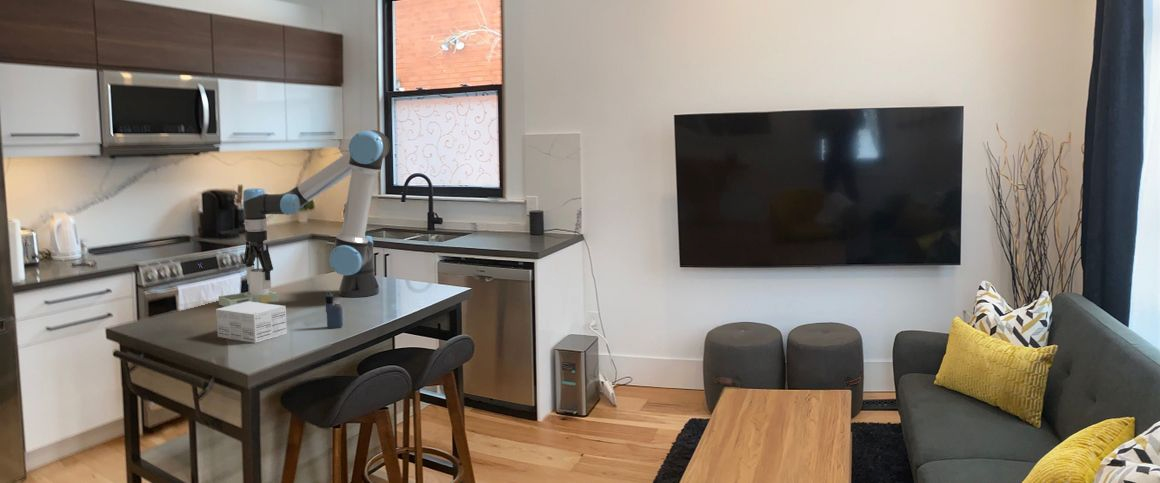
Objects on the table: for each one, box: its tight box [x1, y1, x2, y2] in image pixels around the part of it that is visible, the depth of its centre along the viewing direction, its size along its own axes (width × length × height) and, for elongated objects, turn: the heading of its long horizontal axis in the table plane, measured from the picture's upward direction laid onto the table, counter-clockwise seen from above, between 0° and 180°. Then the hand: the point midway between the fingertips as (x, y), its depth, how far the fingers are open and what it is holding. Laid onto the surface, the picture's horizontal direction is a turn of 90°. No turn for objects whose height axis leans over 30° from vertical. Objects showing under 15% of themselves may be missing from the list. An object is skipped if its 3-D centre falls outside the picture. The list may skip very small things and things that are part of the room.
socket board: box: [218, 290, 279, 307], centre depth 302 cm, size 10×18×3 cm, turn 135°
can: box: [249, 267, 270, 296], centre depth 305 cm, size 6×6×12 cm
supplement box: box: [215, 301, 288, 344], centre depth 258 cm, size 17×13×9 cm
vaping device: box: [324, 291, 344, 329], centre depth 267 cm, size 3×5×12 cm, turn 95°
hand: (259, 286), depth 305 cm, fingers open, 13 cm apart
